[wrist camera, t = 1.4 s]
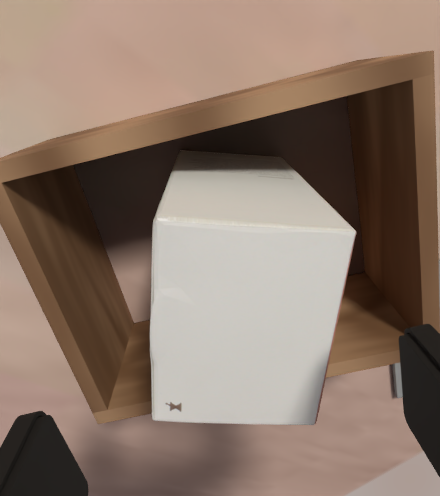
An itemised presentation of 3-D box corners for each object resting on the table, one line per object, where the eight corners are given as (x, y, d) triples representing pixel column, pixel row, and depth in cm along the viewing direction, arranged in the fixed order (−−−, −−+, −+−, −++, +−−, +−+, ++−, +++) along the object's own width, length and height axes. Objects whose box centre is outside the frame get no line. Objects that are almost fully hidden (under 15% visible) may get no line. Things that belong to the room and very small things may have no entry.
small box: (269, 274, 27) (317, 431, 15) (175, 270, 27) (147, 426, 15) (284, 153, 24) (362, 228, 12) (178, 146, 23) (146, 216, 11)
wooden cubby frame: (357, 60, 22) (433, 50, 14) (377, 279, 27) (440, 354, 20) (48, 139, 23) (-27, 168, 16) (126, 334, 28) (98, 424, 21)
